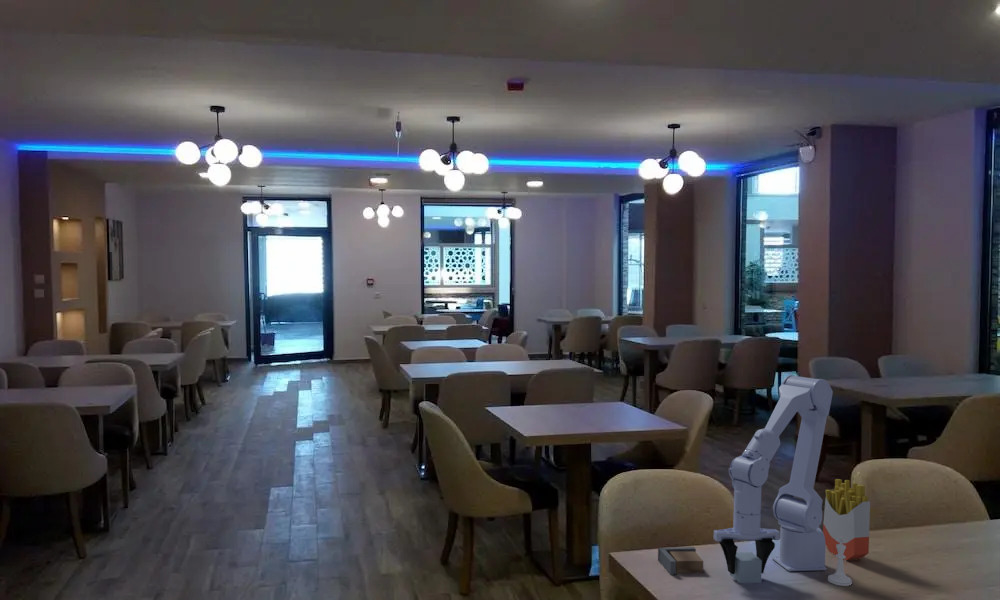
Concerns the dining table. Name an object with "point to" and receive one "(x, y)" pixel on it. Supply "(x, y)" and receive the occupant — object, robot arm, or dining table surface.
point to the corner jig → (667, 560)
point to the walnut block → (687, 562)
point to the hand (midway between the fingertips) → (745, 572)
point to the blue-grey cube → (747, 568)
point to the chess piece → (840, 567)
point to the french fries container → (847, 519)
